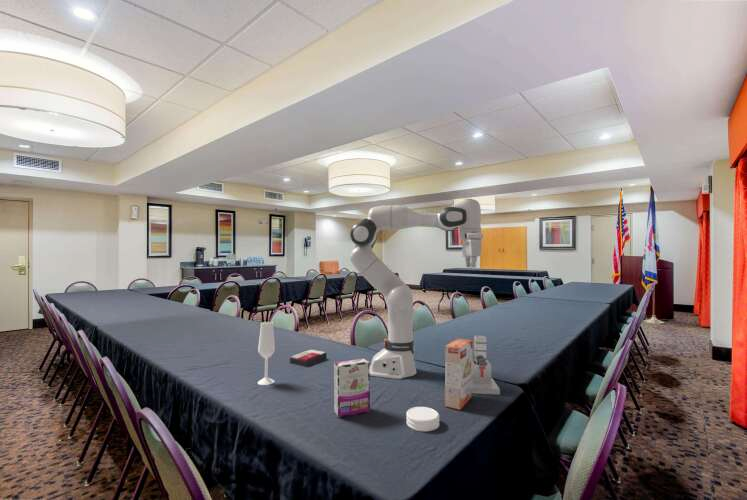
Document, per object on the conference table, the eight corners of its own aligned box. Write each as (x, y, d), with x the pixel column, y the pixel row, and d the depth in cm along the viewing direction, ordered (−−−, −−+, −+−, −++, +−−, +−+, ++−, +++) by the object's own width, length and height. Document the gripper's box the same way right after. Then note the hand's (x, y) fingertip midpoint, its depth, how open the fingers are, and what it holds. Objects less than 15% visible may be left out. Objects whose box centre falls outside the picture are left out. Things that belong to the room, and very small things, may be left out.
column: (475, 389, 133) (475, 337, 133) (474, 385, 137) (473, 335, 137) (486, 390, 132) (486, 338, 133) (484, 386, 136) (484, 335, 137)
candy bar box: (364, 406, 117) (364, 357, 117) (370, 412, 112) (370, 361, 113) (333, 412, 112) (333, 361, 113) (337, 418, 108) (338, 365, 108)
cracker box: (461, 411, 113) (461, 347, 114) (444, 407, 117) (444, 345, 117) (473, 397, 125) (473, 339, 126) (457, 393, 128) (457, 337, 129)
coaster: (435, 416, 110) (435, 405, 110) (442, 432, 100) (442, 420, 100) (404, 417, 109) (404, 406, 109) (408, 432, 99) (408, 420, 100)
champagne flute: (253, 383, 138) (254, 323, 139) (264, 378, 144) (265, 321, 145) (267, 385, 136) (268, 324, 137) (277, 380, 142) (278, 322, 143)
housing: (466, 393, 129) (466, 359, 130) (462, 382, 141) (462, 351, 142) (499, 394, 128) (499, 360, 128) (492, 383, 140) (492, 352, 140)
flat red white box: (289, 356, 167) (310, 348, 179) (289, 365, 167) (310, 356, 179) (305, 359, 161) (326, 351, 173) (306, 368, 161) (327, 359, 173)
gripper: (458, 237, 161) (458, 267, 161) (468, 234, 141) (468, 267, 140) (472, 237, 161) (472, 267, 160) (483, 234, 141) (484, 267, 140)
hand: (470, 267), depth 150 cm, fingers open, 8 cm apart
